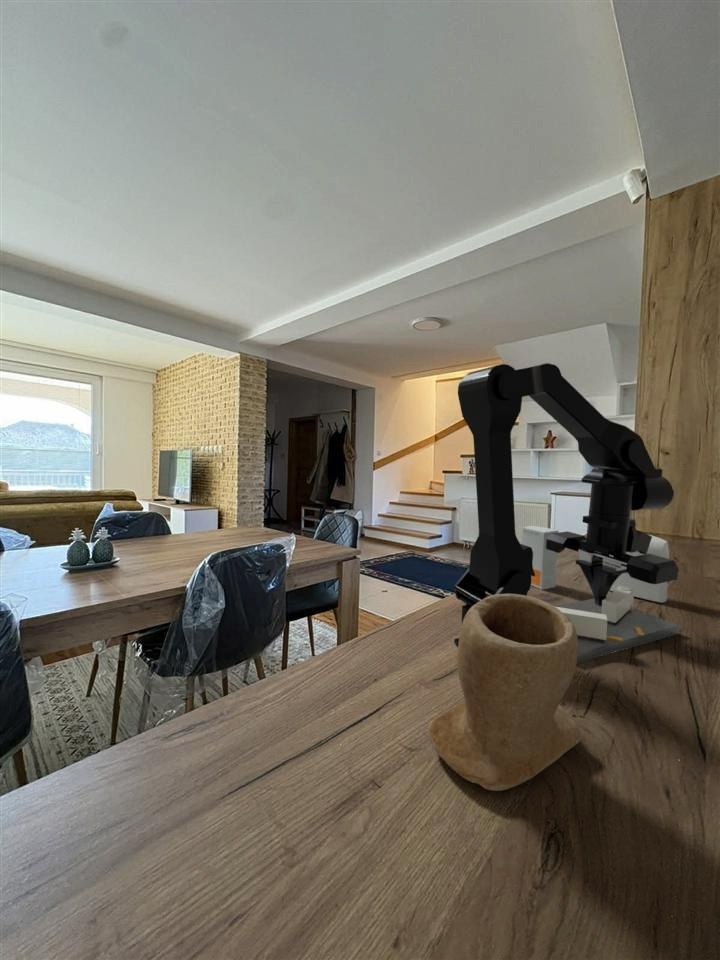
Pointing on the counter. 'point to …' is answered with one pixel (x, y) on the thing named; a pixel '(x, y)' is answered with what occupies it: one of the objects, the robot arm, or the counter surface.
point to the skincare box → (541, 556)
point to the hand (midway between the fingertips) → (599, 605)
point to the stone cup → (509, 692)
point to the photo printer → (642, 588)
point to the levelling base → (621, 631)
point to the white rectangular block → (587, 623)
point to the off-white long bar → (618, 603)
